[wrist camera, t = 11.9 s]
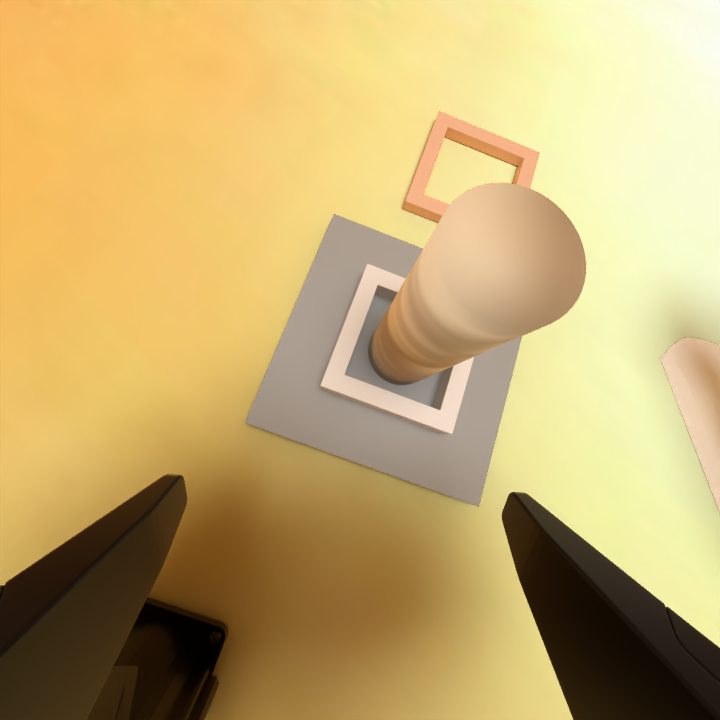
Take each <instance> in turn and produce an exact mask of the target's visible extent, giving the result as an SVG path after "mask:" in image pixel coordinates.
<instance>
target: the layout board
mask: <svg viewBox="0 0 720 720" xmlns="http://www.w3.org/2000/svg"><path fill="white" fill-rule="evenodd" d="M422 250H423V249H422V248H420V247H417V246H415V245H412V244H409V243H407V242H404V241H402V240H399V239H397V238H394V237H392V236H389V235H387V234H384V233H381V232H379V231H376V230H374V229H371V228H369V227H366V226H364V225H361V224H359V223H356V222H353V221H351V220H348V219H346V218H343V217H341V216H338V215H336V214H334V215H333V217H332V220H331V222H330V224H329V227H328V229H327V231H326V234H325V236H324V238H323V241H322V243H321V246H320V248H319V250H318V253H317V255H316V257H315V260H314V262H313V264H312V267H311V269H310V271H309V274H308V276H307V278H306V281H305V283H304V285H303V288H302V290H301V292H300V295H299V297H298V299H297V302H296V304H295V307H294V309H293V311H292V314H291V316H290V318H289V321H288V323H287V325H286V328H285V330H284V332H283V335H282V337H281V339H280V342H279V344H278V346H277V349H276V351H275V353H274V356H273V358H272V360H271V363H270V365H269V368H268V370H267V372H266V375H265V377H264V379H263V382H262V384H261V386H260V389H259V391H258V393H257V396H256V398H255V400H254V403H253V405H252V407H251V410H250V412H249V414H248V417H247V419H246V421H245V423H247V424H250V425H253V426H255V427H258V428H261V429H264V430H267V431H269V432H272V433H275V434H278V435H280V436H283V437H286V438H289V439H292V440H294V441H297V442H300V443H303V444H305V445H308V446H311V447H314V448H317V449H319V450H322V451H325V452H328V453H330V454H333V455H336V456H339V457H342V458H344V459H347V460H350V461H353V462H355V463H358V464H361V465H364V466H367V467H369V468H372V469H375V470H378V471H380V472H383V473H386V474H389V475H392V476H394V477H397V478H400V479H403V480H405V481H408V482H411V483H414V484H417V485H419V486H422V487H425V488H428V489H430V490H433V491H436V492H439V493H441V494H444V495H447V496H450V497H453V498H455V499H458V500H461V501H464V502H466V503H469V504H472V505H475V506H478V507H479V503H480V499H481V495H482V491H483V488H484V484H485V480H486V476H487V472H488V468H489V464H490V460H491V456H492V452H493V448H494V444H495V440H496V436H497V432H498V428H499V424H500V420H501V417H502V413H503V409H504V405H505V401H506V397H507V393H508V389H509V385H510V381H511V377H512V373H513V369H514V365H515V361H516V357H517V353H518V350H519V346H520V342H521V338H522V336H521V337H518V338H516V339H514V340H512V341H509V342H507V343H505V344H502V345H500V346H498V347H496V348H493V349H491V350H489V351H486V352H484V353H482V354H479V355H477V356H475V357H473V358H470V359H468V360H466V361H463V362H461V363H459V364H457V365H454V366H452V367H450V368H447V369H445V370H443V371H441V372H438V373H436V374H434V375H431V376H429V377H427V378H424V379H422V380H420V381H418V382H415V383H413V384H409V385H395V384H392V383H389V382H387V381H385V380H384V379H382V378H381V377H380V376H379V375H378V374H377V373H376V372H375V371H374V369H373V367H372V365H371V363H370V360H369V354H368V349H369V343H370V340H371V338H372V336H373V334H374V332H375V331H376V329H377V327H378V326H379V324H380V322H381V320H382V319H383V317H384V315H385V314H386V312H387V310H388V308H389V307H390V305H391V303H392V302H393V300H394V298H395V296H396V295H397V293H398V291H399V290H400V288H401V286H402V284H403V283H404V281H405V279H406V278H407V276H408V274H409V272H410V271H411V269H412V267H413V266H414V264H415V262H416V260H417V259H418V257H419V255H420V254H421V252H422Z"/></svg>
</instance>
